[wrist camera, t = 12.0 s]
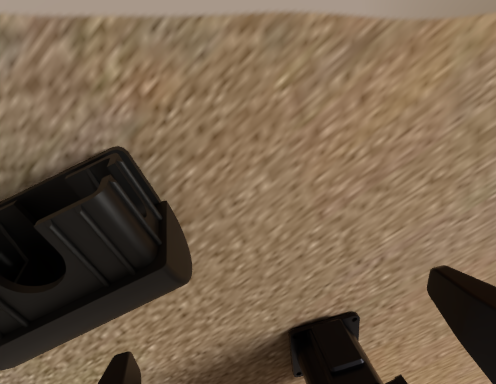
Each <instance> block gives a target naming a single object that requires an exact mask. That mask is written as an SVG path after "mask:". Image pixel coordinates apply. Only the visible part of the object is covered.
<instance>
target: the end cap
mask: <svg viewBox="0 0 496 384" xmlns="http://www.w3.org/2000/svg"><path fill="white" fill-rule="evenodd" d="M191 276H192V261H191V255H190V251H189V248H188V244H187V241H186V239H185V236H184V233H183V231H182V229H181V227H180V224H179V222H178V220H177V218H176V216H175V214H174V213H173V211H172V209H171V207H170V206H169V204H168V203H167V201H162V202H161V200H160V199H159V197H158V195H157V194H156V192H155V191H154V189H153V188H152V186H151V185H150V183H149V182H148V181H147V179H146V178H145V176H144V175H143V173H142V172H141V170H140V169H139V167H138V166H137V164H136V163H135V161H134V160H133V158H132V157H131V155H130V154H129V152H128V151H127V150H125V149H124V148H122V147H119V146H117V147H113V148H110V149H108V150H106V151H104V152H102V153H100V154H98V155H96V156H94V157H92V158H90V159H88V160H86V161H84V162H82V163H80V164H78V165H76V166H73V167H71V168H69V169H67V170H65V171H63V172H61V173H59V174H57V175H55V176H53V177H51V178H49V179H47V180H45V181H43V182H41V183H39V184H36V185H34V186H32V187H30V188H28V189H26V190H24V191H22V192H20V193H18V194H16V195H14V196H12V197H10V198H8V199H6V200H4V201H1V202H0V370H5V369H9V368H13V367H16V366H18V365H20V364H22V363H24V362H26V361H28V360H30V359H32V358H34V357H36V356H38V355H40V354H43V353H45V352H47V351H49V350H51V349H53V348H55V347H57V346H59V345H61V344H63V343H65V342H67V341H69V340H72V339H74V338H76V337H78V336H80V335H82V334H84V333H86V332H88V331H90V330H92V329H94V328H96V327H98V326H101V325H103V324H105V323H107V322H109V321H111V320H113V319H115V318H117V317H119V316H121V315H123V314H125V313H128V312H130V311H132V310H134V309H136V308H138V307H140V306H142V305H144V304H146V303H148V302H150V301H152V300H154V299H157V298H159V297H161V296H163V295H165V294H167V293H169V292H171V291H173V290H175V289H177V288H179V287H181V286H183V285H185V284H187V283H188V282H189V280H190V278H191Z"/></svg>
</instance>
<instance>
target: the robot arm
mask: <svg viewBox="0 0 496 384" xmlns="http://www.w3.org/2000/svg"><path fill="white" fill-rule="evenodd" d="M427 291H428V294H429V296H430V297H431V299H432V300H433V302H434V304H435V305H436V307H437V308H438V310H439V311H440V313H441V314H442V316H443V317H444V319H445V320H446V322H447V324H448V325H449V327H450V328H451V330H452V331H453V333H454V334H455V336H456V337H457V339H458V340H459V341H460V343H461V344H462V345H463V347H464V348H465V349H466V351H467V352H468V353H469V354H470V356H471V357H472V358H473V359H474V361H475V362H476V363H477V365H478V366H479V367H480V368H481V370H482V371H483V372H484V373H485V375H486V376H487V377H488V378H489V380H490V381H491V382H492V384H496V287H495V286H493V285H491V284H488V283H486V282H483V281H481V280H479V279H476V278H474V277H472V276H469V275H467V274H465V273H462V272H460V271H458V270H455V269H453V268H451V267H448V266H445V265H443V266H438V267H435V268H432V269H431V270H430V274H429V279H428V284H427ZM359 321H360V317H359V316H358V314H357V313H356V312H352V313H349V314H345V315H342V316H338V317H335V318H331V319H328V320H324V321H321V322H317V323H313V324H310V325H306V326H303V327H299V328H296V329H293V330H291V331H290V332H289V341H290V351H291V361H292V371H293V374H294V376H295V377H300V376H304V379H305V381H306V384H383V382H382V381H381V379H380V377H379V376H378V374H377V372H376V371H375V369H374V367H373V366H372V364H371V362H370V361H369V359H368V357H367V355H366V354H365V352H364V350H363V349H362V347H361V345H360V344H359V342H358V338H359ZM394 378H395V379H394V380H391V381H389V382H387V383H385V384H407V382H406V381H405V380H404V378H403V377H402V375H401V374H400V375H398V376H396V377H394ZM98 384H141V373H140V369H139V367H138V365H137V363H136V361H135V358H134V356H133V354H132V353H131V352H124V353H121V354H117V355H115V356H114V357H113V359H112V360H111V362H110V364H109V365H108V367H107V369H106V370H105V372H104V374H103V376H102V377H101V379H100V381H99V382H98Z"/></svg>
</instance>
